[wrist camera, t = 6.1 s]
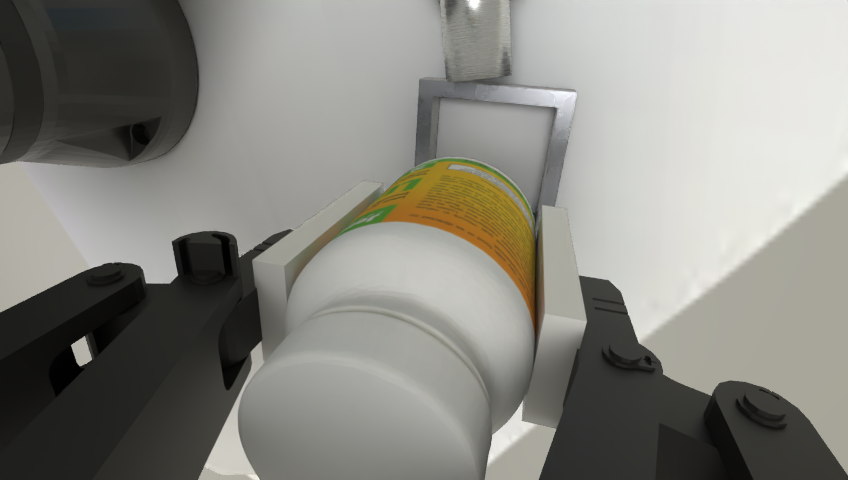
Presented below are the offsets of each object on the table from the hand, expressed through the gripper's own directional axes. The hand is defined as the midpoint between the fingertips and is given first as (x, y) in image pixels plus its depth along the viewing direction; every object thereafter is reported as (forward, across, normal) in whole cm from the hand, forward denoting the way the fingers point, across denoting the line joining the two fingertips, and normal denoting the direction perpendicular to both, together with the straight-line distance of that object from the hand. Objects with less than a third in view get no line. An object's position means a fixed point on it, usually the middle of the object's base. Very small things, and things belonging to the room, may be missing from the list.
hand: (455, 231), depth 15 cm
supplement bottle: (+1, 0, 0) cm, 1 cm away
